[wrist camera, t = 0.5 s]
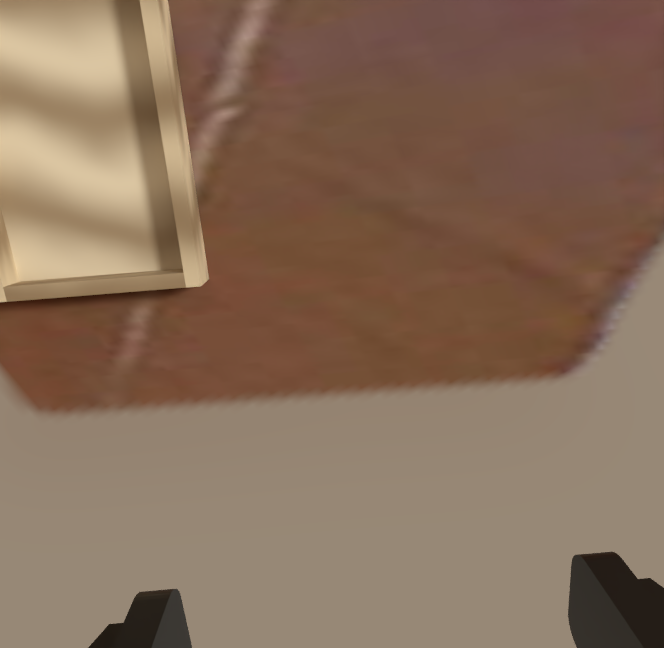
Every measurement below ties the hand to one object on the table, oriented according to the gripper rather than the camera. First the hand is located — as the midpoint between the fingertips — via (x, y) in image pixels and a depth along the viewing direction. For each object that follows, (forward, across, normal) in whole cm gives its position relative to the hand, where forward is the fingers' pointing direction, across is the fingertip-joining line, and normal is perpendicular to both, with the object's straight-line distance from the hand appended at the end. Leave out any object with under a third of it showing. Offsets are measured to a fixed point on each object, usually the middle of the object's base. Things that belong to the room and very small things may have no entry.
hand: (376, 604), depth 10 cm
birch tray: (+28, +16, -14) cm, 35 cm away
